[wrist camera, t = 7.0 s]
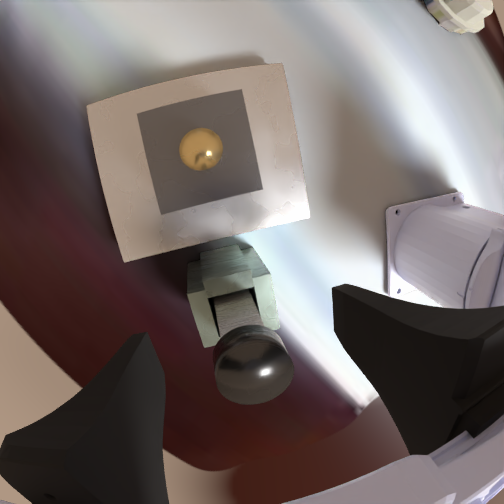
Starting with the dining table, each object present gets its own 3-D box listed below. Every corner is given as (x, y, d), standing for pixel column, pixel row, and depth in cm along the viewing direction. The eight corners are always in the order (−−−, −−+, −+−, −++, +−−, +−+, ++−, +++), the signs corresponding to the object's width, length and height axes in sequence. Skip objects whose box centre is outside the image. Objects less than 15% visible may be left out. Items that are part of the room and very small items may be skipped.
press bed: (274, 70, 18) (298, 48, 13) (309, 286, 23) (337, 317, 18) (95, 110, 16) (67, 97, 12) (155, 325, 22) (148, 366, 17)
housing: (228, 107, 16) (248, 80, 10) (244, 180, 18) (271, 193, 12) (152, 125, 16) (129, 108, 10) (169, 199, 17) (157, 222, 11)
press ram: (251, 267, 18) (289, 336, 11) (261, 312, 19) (297, 392, 12) (199, 280, 18) (206, 357, 11) (212, 324, 19) (226, 411, 12)
